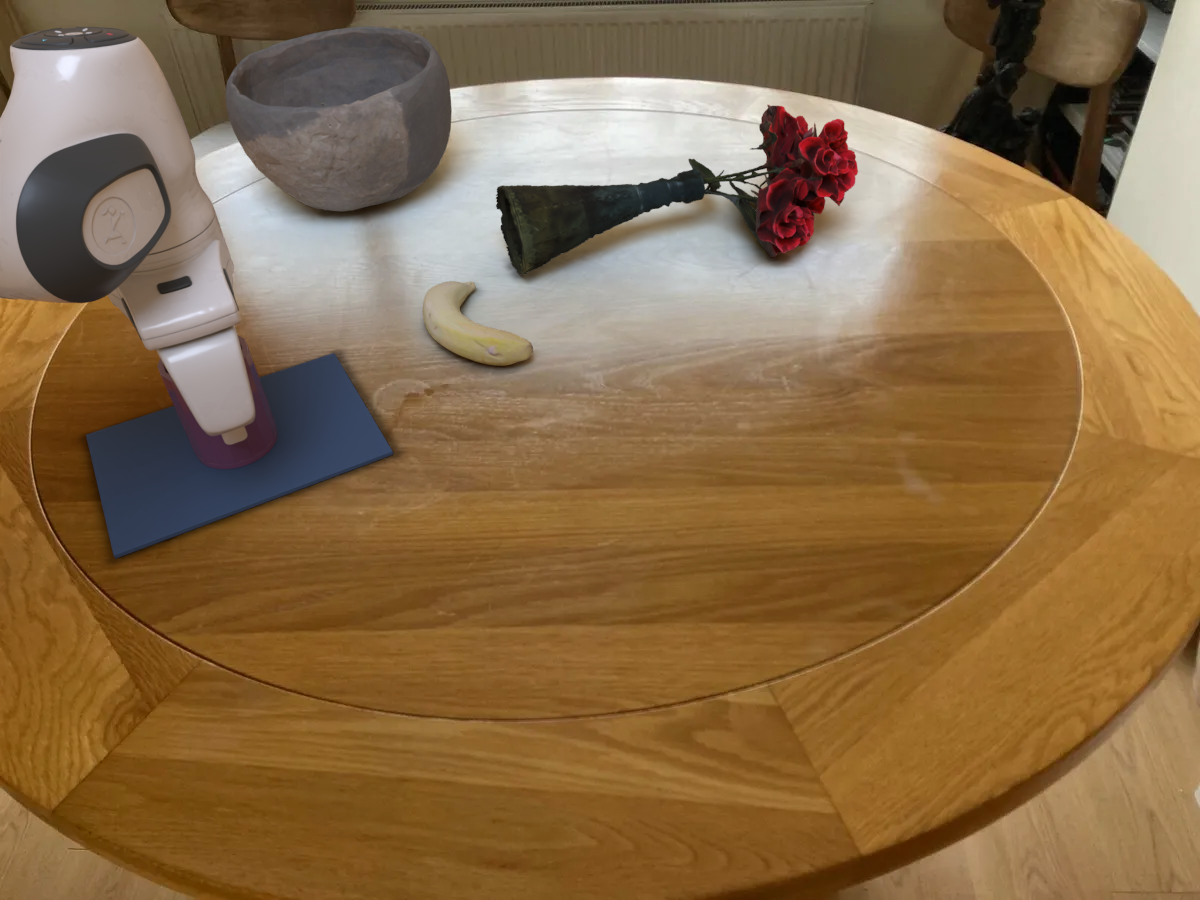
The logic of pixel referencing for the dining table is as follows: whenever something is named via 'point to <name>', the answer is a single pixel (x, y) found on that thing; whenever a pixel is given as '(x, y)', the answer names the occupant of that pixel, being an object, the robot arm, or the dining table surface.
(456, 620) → the dining table surface
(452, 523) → the dining table surface
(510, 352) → the fruit
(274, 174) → the bowl
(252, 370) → the cup
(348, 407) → the rectangular board
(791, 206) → the vase with red roses
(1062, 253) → the dining table surface
